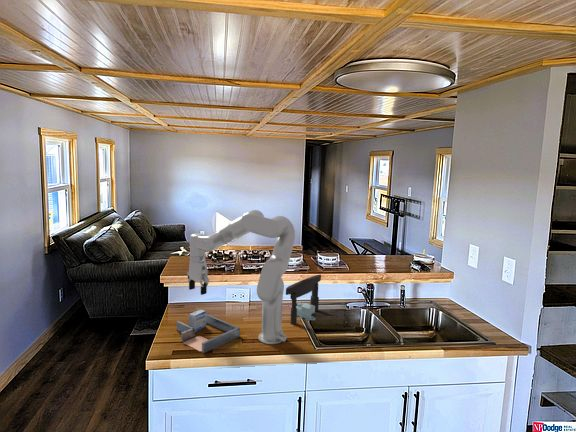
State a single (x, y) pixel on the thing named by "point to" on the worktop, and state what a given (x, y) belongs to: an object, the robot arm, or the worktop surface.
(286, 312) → the worktop surface
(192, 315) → the medicine box
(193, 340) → the terracotta mat
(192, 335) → the bent rail channel
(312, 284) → the stool
